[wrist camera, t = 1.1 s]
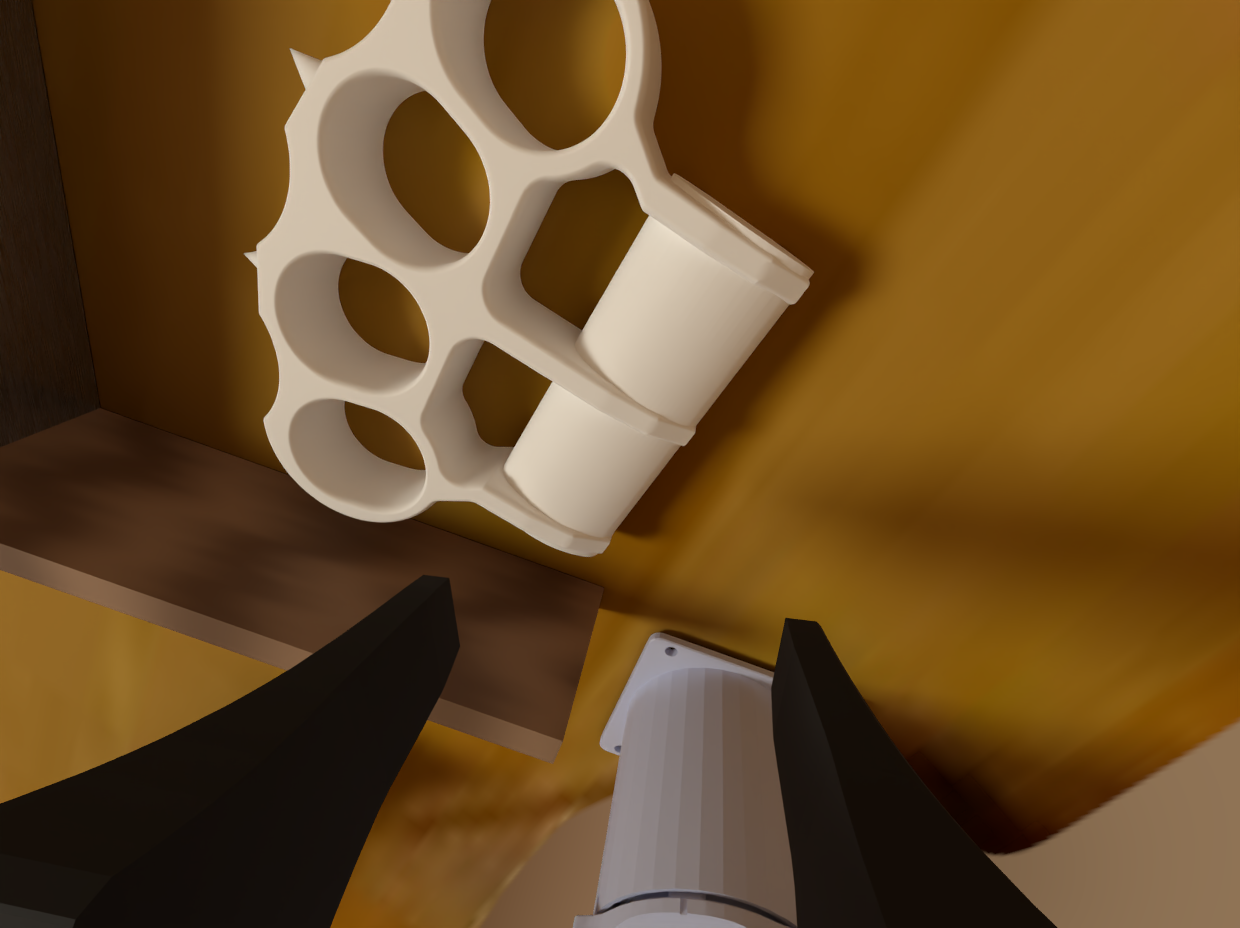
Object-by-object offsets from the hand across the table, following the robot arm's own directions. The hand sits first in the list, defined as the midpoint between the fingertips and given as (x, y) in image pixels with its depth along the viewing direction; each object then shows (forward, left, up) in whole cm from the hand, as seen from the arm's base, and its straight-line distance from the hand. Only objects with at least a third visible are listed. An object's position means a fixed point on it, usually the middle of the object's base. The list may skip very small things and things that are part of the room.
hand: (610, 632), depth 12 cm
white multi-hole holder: (+6, -3, -10) cm, 12 cm away
